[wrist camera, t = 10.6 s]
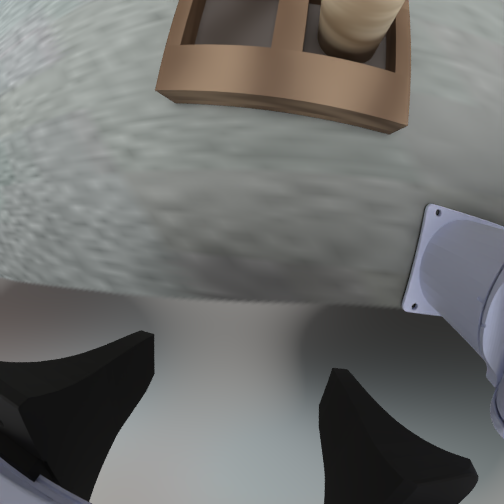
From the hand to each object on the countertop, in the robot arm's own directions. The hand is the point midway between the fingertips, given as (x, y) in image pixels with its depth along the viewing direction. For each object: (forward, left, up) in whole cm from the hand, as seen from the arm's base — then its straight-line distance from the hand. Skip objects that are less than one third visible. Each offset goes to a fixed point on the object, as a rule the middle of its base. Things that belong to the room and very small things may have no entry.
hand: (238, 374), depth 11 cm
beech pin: (-3, -18, -9) cm, 20 cm away
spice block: (+1, -18, -10) cm, 21 cm away
